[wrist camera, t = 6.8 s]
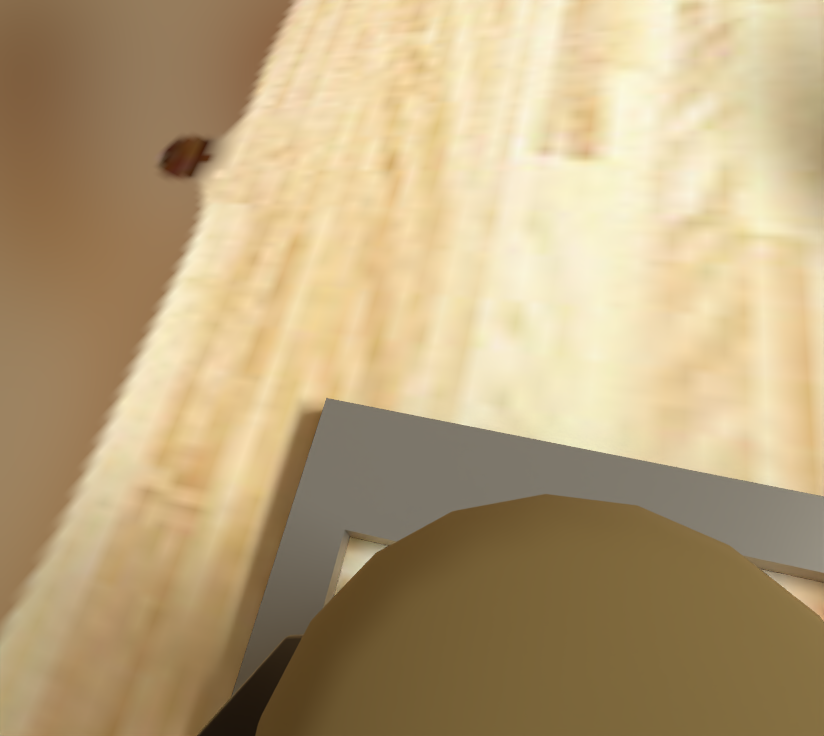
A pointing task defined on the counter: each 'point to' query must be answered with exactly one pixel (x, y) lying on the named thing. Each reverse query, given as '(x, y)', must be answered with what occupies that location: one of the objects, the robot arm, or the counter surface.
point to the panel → (491, 502)
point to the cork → (555, 634)
